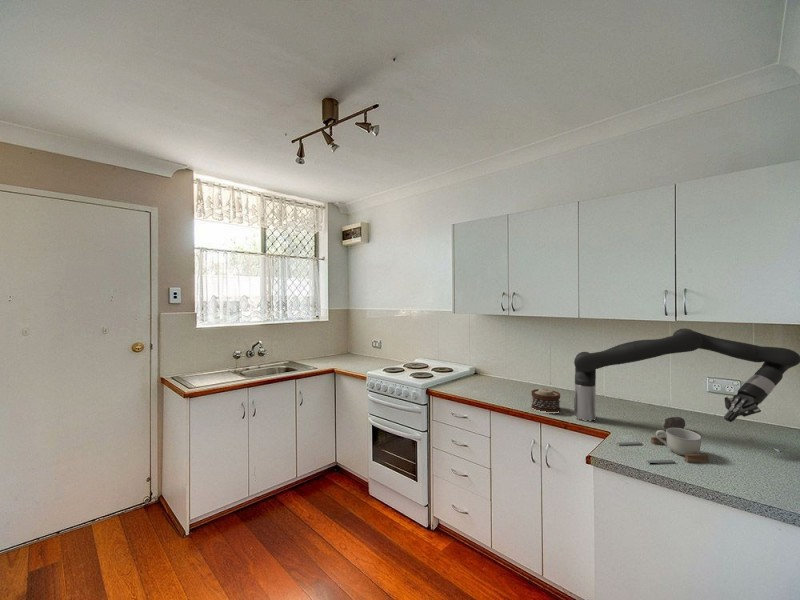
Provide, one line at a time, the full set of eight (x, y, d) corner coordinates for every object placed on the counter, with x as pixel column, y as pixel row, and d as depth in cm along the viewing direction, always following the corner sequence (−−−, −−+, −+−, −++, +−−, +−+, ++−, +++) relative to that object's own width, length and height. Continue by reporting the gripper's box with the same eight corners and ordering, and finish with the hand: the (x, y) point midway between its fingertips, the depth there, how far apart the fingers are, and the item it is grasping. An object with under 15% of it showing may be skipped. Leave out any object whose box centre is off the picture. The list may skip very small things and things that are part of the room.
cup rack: (651, 443, 146) (651, 437, 146) (669, 442, 147) (669, 436, 147) (687, 462, 129) (687, 455, 129) (708, 461, 130) (708, 454, 130)
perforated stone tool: (677, 427, 164) (677, 412, 164) (690, 431, 159) (690, 415, 159) (660, 433, 157) (660, 418, 157) (673, 437, 152) (673, 421, 152)
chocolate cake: (550, 395, 180) (525, 389, 192) (550, 416, 180) (525, 408, 192) (566, 390, 188) (541, 385, 200) (566, 410, 188) (541, 404, 201)
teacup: (701, 452, 137) (701, 432, 137) (700, 462, 129) (700, 440, 129) (657, 442, 147) (657, 423, 147) (654, 451, 139) (654, 431, 139)
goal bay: (616, 444, 146) (616, 442, 146) (639, 443, 146) (639, 441, 146) (649, 464, 128) (649, 462, 128) (675, 463, 129) (675, 461, 129)
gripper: (733, 378, 146) (705, 408, 146) (768, 386, 133) (738, 419, 133) (745, 390, 147) (717, 420, 146) (781, 400, 134) (751, 433, 133)
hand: (727, 420), depth 139 cm, fingers closed
